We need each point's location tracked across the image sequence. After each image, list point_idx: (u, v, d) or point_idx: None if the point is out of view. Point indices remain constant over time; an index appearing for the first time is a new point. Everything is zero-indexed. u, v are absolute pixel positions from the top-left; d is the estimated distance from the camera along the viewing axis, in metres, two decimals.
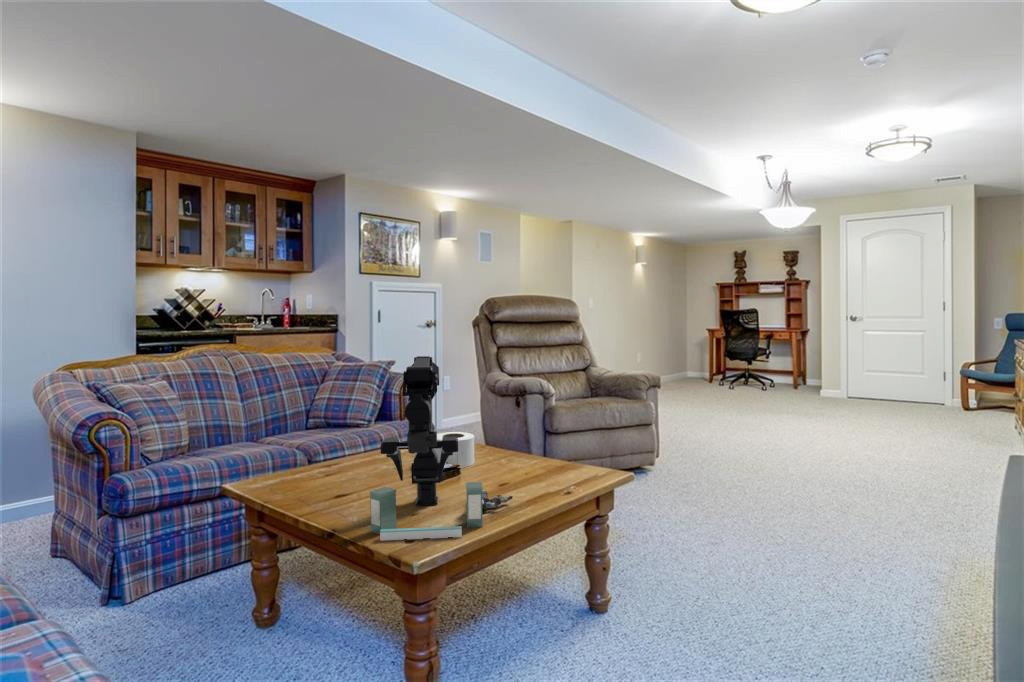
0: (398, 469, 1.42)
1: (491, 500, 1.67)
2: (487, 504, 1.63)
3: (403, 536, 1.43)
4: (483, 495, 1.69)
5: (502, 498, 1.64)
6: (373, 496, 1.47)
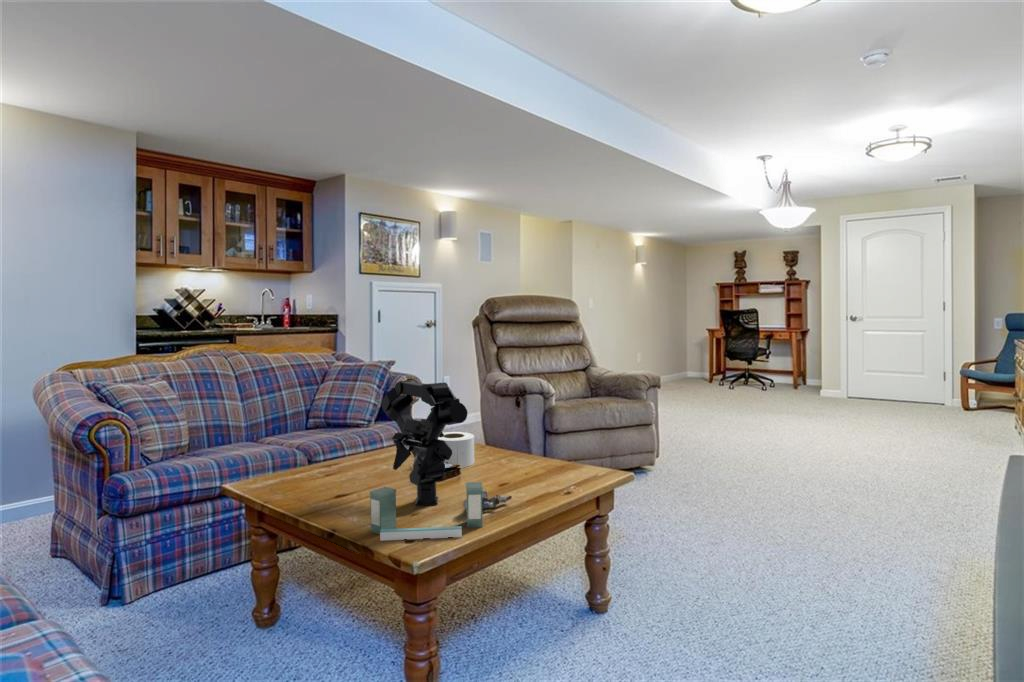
0: (396, 457, 1.60)
1: (490, 500, 1.67)
2: (485, 504, 1.63)
3: (403, 536, 1.43)
4: (482, 495, 1.69)
5: (500, 498, 1.65)
6: (373, 496, 1.47)
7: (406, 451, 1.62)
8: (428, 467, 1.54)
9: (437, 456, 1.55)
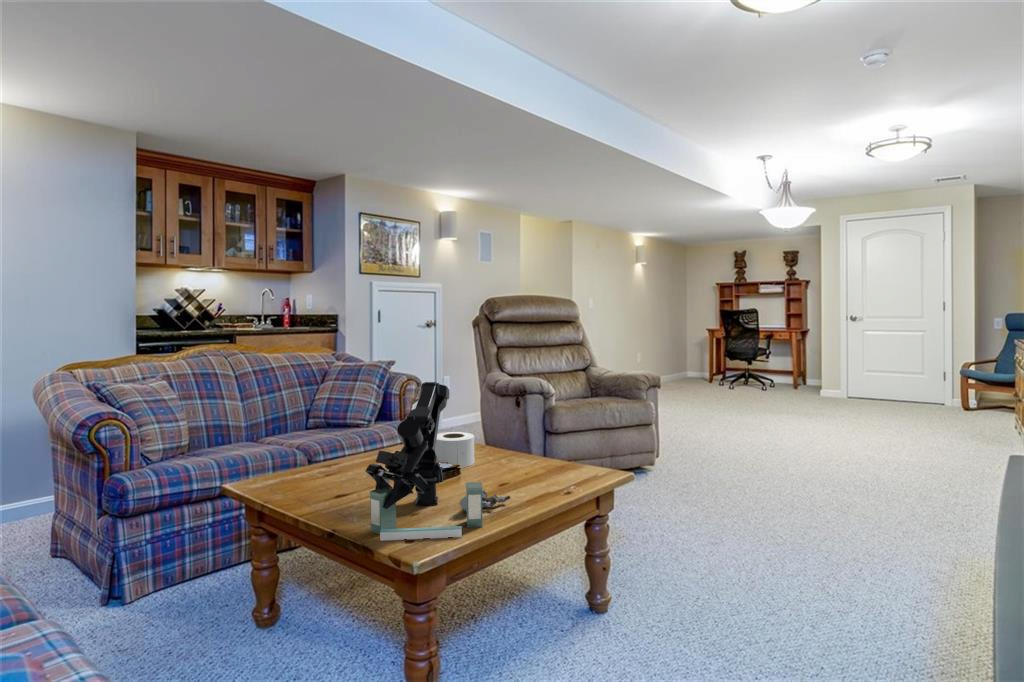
0: None
1: (487, 499, 1.67)
2: (482, 503, 1.64)
3: (403, 536, 1.43)
4: None
5: (497, 498, 1.65)
6: (373, 496, 1.47)
7: (386, 485, 1.53)
8: (395, 500, 1.48)
9: (405, 488, 1.49)
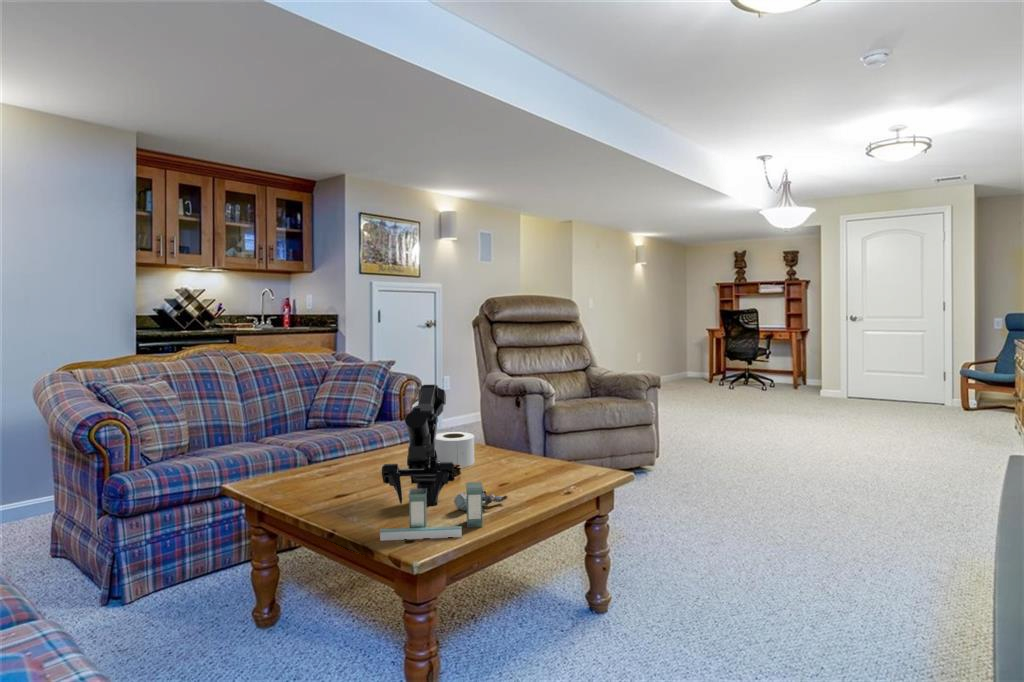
0: (398, 490, 1.47)
1: (484, 498, 1.68)
2: None
3: (403, 536, 1.43)
4: None
5: (492, 497, 1.65)
6: (414, 498, 1.45)
7: (400, 482, 1.51)
8: (438, 492, 1.50)
9: (444, 479, 1.52)
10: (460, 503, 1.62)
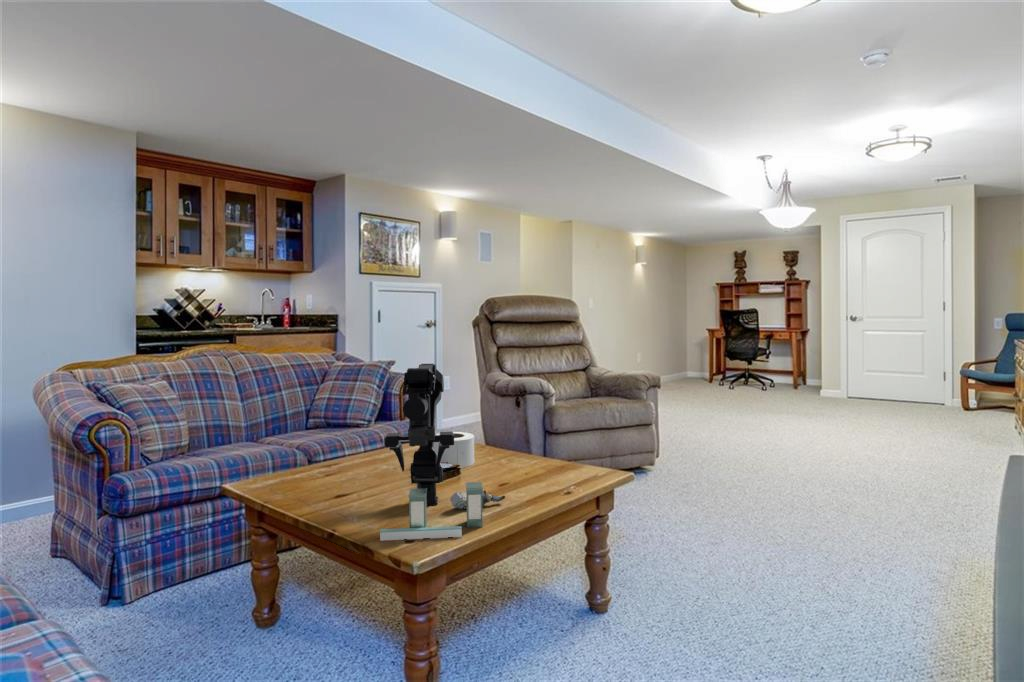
0: (400, 461, 1.57)
1: None
2: None
3: (403, 536, 1.43)
4: None
5: (489, 497, 1.66)
6: (414, 498, 1.45)
7: (401, 447, 1.59)
8: None
9: None
10: (456, 502, 1.63)
